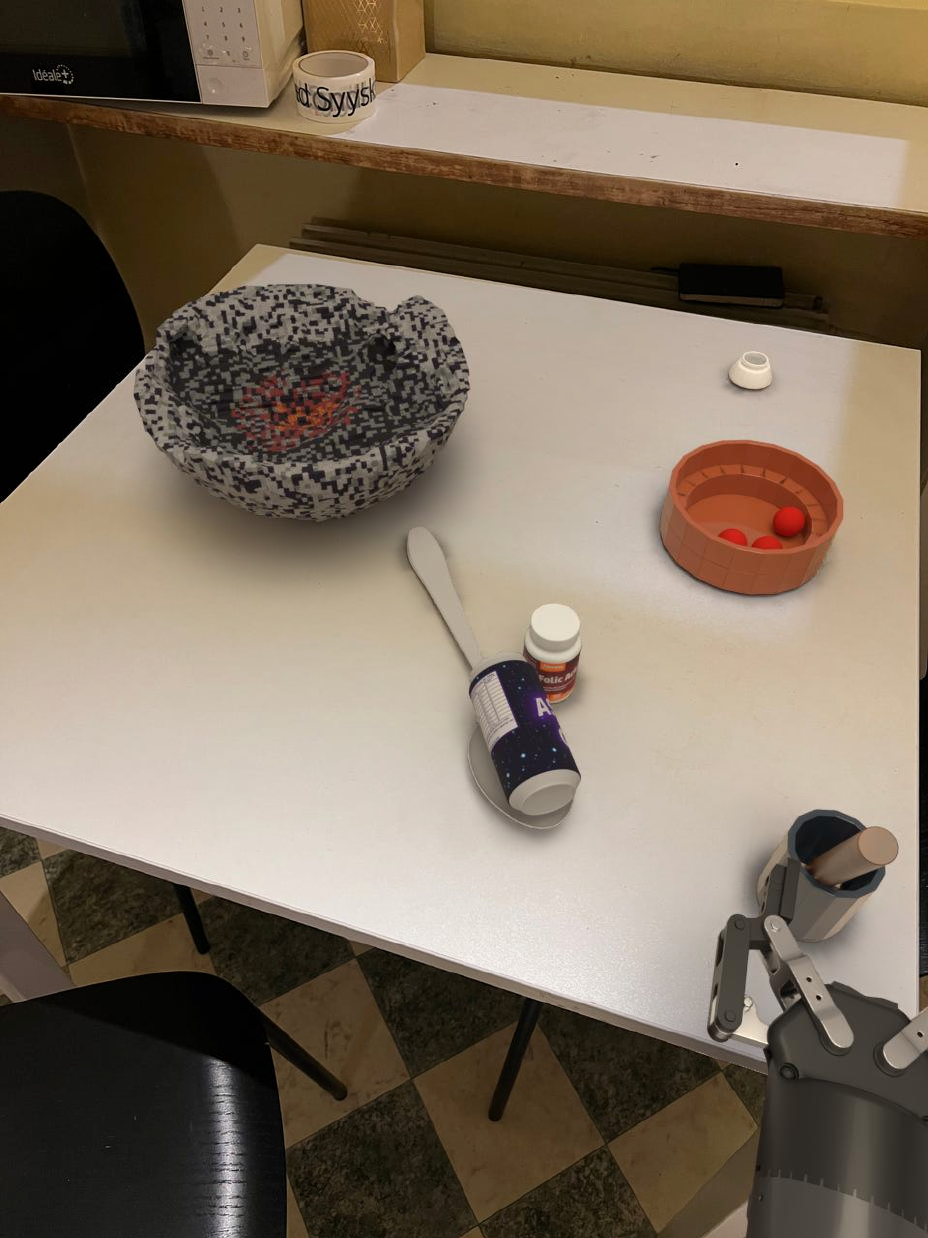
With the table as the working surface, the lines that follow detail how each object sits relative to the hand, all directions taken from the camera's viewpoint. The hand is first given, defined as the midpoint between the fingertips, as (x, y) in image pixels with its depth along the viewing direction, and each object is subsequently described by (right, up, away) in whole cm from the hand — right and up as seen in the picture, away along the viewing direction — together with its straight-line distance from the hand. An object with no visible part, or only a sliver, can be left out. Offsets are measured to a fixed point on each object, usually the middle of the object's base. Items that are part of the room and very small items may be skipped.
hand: (867, 890), depth 48 cm
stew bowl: (+6, +23, +39) cm, 46 cm away
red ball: (+10, +25, +38) cm, 46 cm away
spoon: (-21, +11, +29) cm, 37 cm away
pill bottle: (-15, +9, +28) cm, 33 cm away
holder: (+2, -5, +15) cm, 16 cm away
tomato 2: (+7, +22, +35) cm, 42 cm away
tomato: (+4, +22, +36) cm, 42 cm away
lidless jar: (+12, +44, +57) cm, 73 cm away
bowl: (-38, +30, +45) cm, 66 cm away
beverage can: (-16, +2, +14) cm, 22 cm away
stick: (+3, -4, +15) cm, 16 cm away
